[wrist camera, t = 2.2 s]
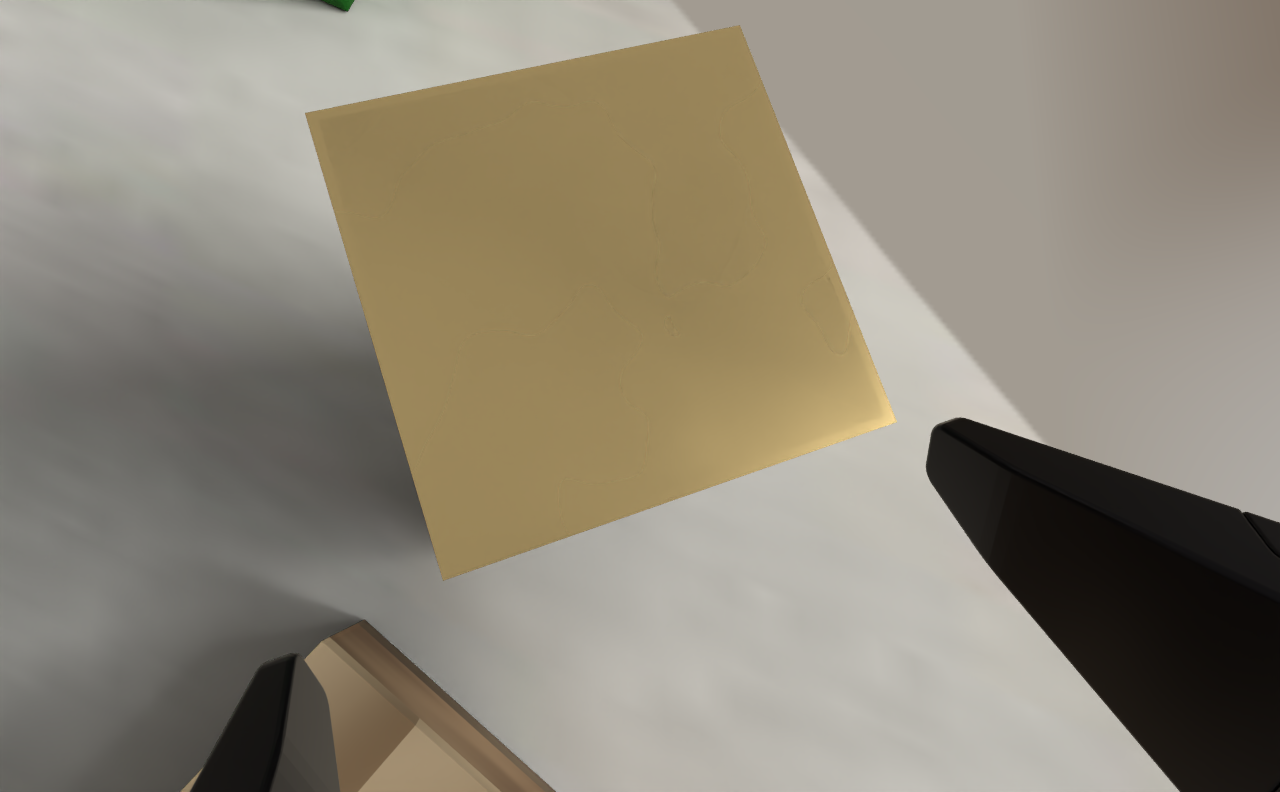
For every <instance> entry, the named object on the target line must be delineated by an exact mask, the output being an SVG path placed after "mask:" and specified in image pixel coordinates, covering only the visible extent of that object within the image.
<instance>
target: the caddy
mask: <svg viewBox="0 0 1280 792" xmlns="http://www.w3.org/2000/svg"><path fill="white" fill-rule="evenodd" d="M304 660H305V662H306V663H307V665H308V666H309V668H310V669H311V671H312V672H313V674H314V675H315V676H316V678H317V679H318V681H319V682H320V684H321V685H322V687H323V689H324V691H325V693H326V696H327V699H328V703H329V708H330V716H331V724H332V731H333V739H334V747H335V754H336V762H337V770H338V777H339V785H340V792H556V791H555V790H553V789H552V788H551V787H550V786H549V785H548V784H547V783H546V782H545V781H543V780H542V779H541V778H540V777H539V776H538V775H537V774H536V773H535V772H533V771H532V770H531V769H530V768H529V767H528V766H527V765H526V764H525V763H523V762H522V761H521V760H520V759H519V758H518V757H517V756H516V755H515V754H513V753H512V752H511V751H510V750H509V749H508V748H507V747H506V746H505V745H503V744H502V743H501V742H500V741H499V740H498V739H497V738H496V737H495V736H493V735H492V734H491V733H490V732H489V731H488V730H487V729H486V728H485V727H483V726H482V725H481V724H480V723H479V722H478V721H477V720H476V719H475V718H473V717H472V716H471V715H470V714H469V713H468V712H467V711H466V710H465V709H463V708H462V707H461V706H460V705H459V704H458V703H457V702H456V701H455V700H453V699H452V698H451V697H450V696H449V695H448V694H447V693H446V692H445V691H443V690H442V689H441V688H440V687H439V686H438V685H437V684H436V683H435V682H433V681H432V680H431V679H430V678H429V677H428V676H427V675H426V674H425V673H424V672H422V671H421V670H420V669H419V668H418V667H417V666H416V665H415V664H414V663H412V662H411V661H410V660H409V659H408V658H407V657H406V656H405V655H404V654H402V653H401V652H400V651H399V650H398V649H397V648H396V647H395V646H394V645H392V644H391V643H390V642H389V641H388V640H387V639H386V638H385V637H384V636H382V635H381V634H380V633H379V632H378V631H377V630H376V629H375V628H374V627H372V626H371V625H370V624H369V623H368V622H367V621H366V620H363V621H361V622H359V623H357V624H355V625H353V626H351V627H349V628H347V629H345V630H343V631H341V632H339V633H337V634H335V635H333V636H331V637H329V638H327V639H325V640H323V641H321V642H320V643H319V644H318V646H317V647H316V648H315V649H314V650H313V651H312V652H311V653H310V654H309V655H308V656H307V657H306V658H305V659H304ZM201 770H202V769H201ZM201 770H200V771H199V772H198V773H197V774H196V776H195V777H194V778H193V779H192V780H191V781H190V782H189V783H188V784H187V785H186V786H185V787H184V788H183V789H182V790H181V792H190V790H191V788H192V786H193V784H194V783H195V781H196V779H197V777H198V775H199V774H200V772H201Z"/></svg>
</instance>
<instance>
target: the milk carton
mask: <svg viewBox="0 0 1280 792" xmlns="http://www.w3.org/2000/svg"><path fill="white" fill-rule="evenodd" d="M322 1H324V2H327V3H329V4H331V5H333V6H336V7H338V8H340V9H342V10H345V11H347V12H348V11H349V9H350V7H351V5H352V4H353V2H354V0H322Z"/></svg>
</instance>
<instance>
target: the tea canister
mask: <svg viewBox="0 0 1280 792" xmlns="http://www.w3.org/2000/svg"><path fill="white" fill-rule="evenodd" d="M305 115H306V118H307V122H308V125H309V128H310V132H311V135H312V138H313V142H314V145H315V149H316V152H317V155H318V159H319V162H320V166H321V169H322V172H323V176H324V179H325V182H326V186H327V189H328V193H329V196H330V199H331V203H332V206H333V210H334V213H335V216H336V220H337V223H338V227H339V230H340V233H341V237H342V240H343V243H344V247H345V250H346V254H347V257H348V260H349V264H350V267H351V271H352V274H353V277H354V281H355V284H356V287H357V291H358V294H359V298H360V301H361V304H362V308H363V311H364V315H365V318H366V321H367V325H368V328H369V332H370V335H371V338H372V342H373V345H374V348H375V352H376V355H377V359H378V362H379V365H380V369H381V372H382V376H383V379H384V382H385V386H386V389H387V392H388V396H389V399H390V403H391V406H392V409H393V413H394V416H395V420H396V423H397V426H398V430H399V433H400V437H401V440H402V443H403V447H404V450H405V453H406V457H407V460H408V464H409V467H410V470H411V474H412V477H413V481H414V484H415V487H416V491H417V494H418V497H419V501H420V504H421V508H422V511H423V514H424V518H425V521H426V525H427V528H428V531H429V535H430V538H431V542H432V545H433V548H434V552H435V555H436V558H437V562H438V565H439V569H440V572H441V575H442V579H443V581H444V580H446V579H449V578H452V577H455V576H458V575H461V574H464V573H467V572H469V571H472V570H475V569H478V568H481V567H484V566H487V565H489V564H492V563H495V562H498V561H501V560H504V559H507V558H509V557H512V556H515V555H518V554H521V553H524V552H527V551H529V550H532V549H535V548H538V547H541V546H544V545H547V544H549V543H552V542H555V541H558V540H561V539H564V538H567V537H569V536H572V535H575V534H578V533H581V532H584V531H587V530H589V529H592V528H595V527H598V526H601V525H604V524H607V523H609V522H612V521H615V520H618V519H621V518H624V517H627V516H629V515H632V514H635V513H638V512H641V511H644V510H647V509H650V508H652V507H655V506H658V505H661V504H664V503H667V502H670V501H672V500H675V499H678V498H681V497H684V496H687V495H690V494H692V493H695V492H698V491H701V490H704V489H707V488H710V487H712V486H715V485H718V484H721V483H724V482H727V481H730V480H732V479H735V478H738V477H741V476H744V475H747V474H750V473H752V472H755V471H758V470H761V469H764V468H767V467H770V466H772V465H775V464H778V463H781V462H784V461H787V460H790V459H792V458H795V457H798V456H801V455H804V454H807V453H810V452H812V451H815V450H818V449H821V448H824V447H827V446H830V445H833V444H835V443H838V442H841V441H844V440H847V439H850V438H853V437H855V436H858V435H861V434H864V433H867V432H870V431H873V430H875V429H878V428H881V427H884V426H887V425H890V424H893V423H895V422H897V421H896V419H895V416H894V414H893V411H892V409H891V406H890V403H889V401H888V398H887V396H886V393H885V391H884V388H883V386H882V383H881V381H880V378H879V376H878V373H877V371H876V368H875V366H874V363H873V361H872V358H871V355H870V353H869V350H868V348H867V345H866V343H865V340H864V338H863V335H862V333H861V330H860V328H859V325H858V323H857V320H856V318H855V315H854V313H853V310H852V307H851V305H850V302H849V300H848V297H847V295H846V292H845V290H844V287H843V285H842V282H841V280H840V277H839V275H838V272H837V270H836V267H835V265H834V262H833V259H832V257H831V254H830V252H829V249H828V247H827V244H826V242H825V239H824V237H823V234H822V232H821V229H820V227H819V224H818V222H817V219H816V217H815V214H814V211H813V209H812V206H811V204H810V201H809V199H808V196H807V194H806V191H805V189H804V186H803V184H802V181H801V179H800V176H799V174H798V171H797V169H796V166H795V163H794V161H793V158H792V156H791V153H790V151H789V148H788V146H787V143H786V141H785V138H784V136H783V133H782V131H781V128H780V126H779V123H778V121H777V118H776V115H775V113H774V110H773V108H772V105H771V103H770V100H769V98H768V95H767V93H766V90H765V88H764V85H763V83H762V80H761V78H760V75H759V72H758V70H757V67H756V65H755V62H754V60H753V57H752V55H751V53H750V50H749V47H748V45H747V42H746V40H745V37H744V35H743V32H742V30H741V27H740V26H734V27H729V28H724V29H719V30H714V31H709V32H704V33H699V34H694V35H689V36H684V37H679V38H674V39H669V40H665V41H660V42H655V43H650V44H645V45H640V46H635V47H630V48H625V49H620V50H615V51H610V52H605V53H600V54H595V55H590V56H585V57H580V58H575V59H571V60H566V61H561V62H556V63H551V64H546V65H541V66H536V67H531V68H526V69H521V70H516V71H511V72H506V73H501V74H496V75H491V76H486V77H481V78H477V79H472V80H467V81H462V82H457V83H452V84H447V85H442V86H437V87H432V88H427V89H422V90H417V91H412V92H407V93H402V94H397V95H392V96H387V97H383V98H378V99H373V100H368V101H363V102H358V103H353V104H348V105H343V106H338V107H333V108H328V109H323V110H318V111H313V112H308V113H305Z"/></svg>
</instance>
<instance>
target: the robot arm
mask: <svg viewBox="0 0 1280 792" xmlns="http://www.w3.org/2000/svg"><path fill="white" fill-rule="evenodd" d="M926 472H927V475H928V478H929V480H930V482H931V483H932V485H933V486H934V488H935V489H936V491H937V492H938V494H939V495H940V497H941V498H942V499H943V501H944V502H945V504H946V505H947V507H948V508H949V510H950V511H951V513H952V514H953V515H954V517H955V518H956V520H957V521H958V523H959V524H960V526H961V527H962V529H963V530H964V532H965V533H966V534H967V536H968V537H969V539H970V540H971V542H972V543H973V545H974V546H975V548H976V549H977V550H978V552H979V553H980V555H981V556H982V557H983V559H984V560H985V561H986V563H987V564H988V565H989V567H990V568H991V569H992V570H993V572H994V573H995V574H996V575H997V576H998V578H999V579H1000V580H1001V581H1002V582H1003V584H1004V585H1005V586H1006V587H1007V588H1008V590H1009V591H1010V592H1011V593H1012V594H1013V595H1014V597H1015V598H1016V599H1017V600H1018V601H1019V602H1020V604H1021V605H1022V606H1023V607H1024V608H1025V610H1026V611H1027V612H1028V613H1029V614H1030V615H1031V617H1032V618H1033V619H1034V620H1035V621H1036V623H1037V624H1038V625H1039V626H1040V627H1041V628H1042V630H1043V631H1044V632H1045V633H1046V634H1047V636H1048V637H1049V638H1050V639H1051V640H1052V641H1053V643H1054V644H1055V645H1056V646H1057V647H1058V649H1059V650H1060V651H1061V652H1062V653H1063V654H1064V656H1065V657H1066V658H1067V659H1068V660H1069V661H1070V663H1071V664H1072V665H1073V666H1074V667H1075V669H1076V670H1077V671H1078V672H1079V673H1080V674H1081V676H1082V677H1083V678H1084V679H1085V680H1086V682H1087V683H1088V684H1089V685H1090V686H1091V687H1092V689H1093V690H1094V691H1095V692H1096V693H1097V695H1098V696H1099V697H1100V698H1101V699H1102V700H1103V702H1104V703H1105V704H1106V705H1107V706H1108V708H1109V709H1110V710H1111V711H1112V712H1113V713H1114V715H1115V716H1116V717H1117V718H1118V719H1119V721H1120V722H1121V723H1122V724H1123V725H1124V726H1125V728H1126V729H1127V730H1128V731H1129V732H1130V733H1131V735H1132V736H1133V737H1134V738H1135V739H1136V741H1137V742H1138V743H1139V744H1140V745H1141V746H1142V748H1143V749H1144V750H1145V751H1146V752H1147V754H1148V755H1149V756H1150V757H1151V758H1152V759H1153V761H1154V762H1155V763H1156V764H1157V765H1158V767H1159V768H1160V769H1161V770H1162V771H1163V772H1164V774H1165V775H1166V776H1167V777H1168V778H1169V780H1170V781H1171V782H1172V783H1173V784H1174V785H1175V787H1176V788H1177V789H1178V790H1179V791H1180V792H1280V523H1279V522H1276V521H1273V520H1270V519H1267V518H1264V517H1261V516H1258V515H1255V514H1252V513H1249V512H1243V513H1242V512H1241V511H1240V510H1239V509H1236V508H1234V507H1231V506H1227V505H1224V504H1221V503H1218V502H1215V501H1212V500H1210V499H1206V498H1203V497H1200V496H1197V495H1194V494H1191V493H1188V492H1185V491H1182V490H1179V489H1176V488H1173V487H1170V486H1167V485H1164V484H1161V483H1158V482H1155V481H1152V480H1149V479H1146V478H1143V477H1140V476H1137V475H1134V474H1131V473H1128V472H1125V471H1122V470H1119V469H1116V468H1113V467H1110V466H1107V465H1104V464H1101V463H1098V462H1095V461H1092V460H1089V459H1086V458H1083V457H1080V456H1077V455H1074V454H1071V453H1068V452H1065V451H1062V450H1059V449H1056V448H1053V447H1050V446H1047V445H1044V444H1041V443H1038V442H1035V441H1032V440H1029V439H1026V438H1023V437H1020V436H1017V435H1014V434H1011V433H1008V432H1005V431H1002V430H999V429H996V428H993V427H990V426H987V425H984V424H981V423H978V422H975V421H972V420H969V419H966V418H954V419H951V420H948V421H945V422H943V423H940V424H937V425H936V426H935V427H934V428H933V430H932V432H931V437H930V443H929V449H928V455H927V461H926ZM190 792H340V785H339V777H338V770H337V762H336V754H335V747H334V739H333V731H332V724H331V716H330V708H329V703H328V699H327V696H326V693H325V691H324V689H323V687H322V685H321V684H320V682H319V681H318V679H317V678H316V676H315V675H314V674H313V672H312V671H311V669H310V668H309V666H308V665H307V663H306V662H305V660H304V659H303V658H302V656H301V655H299V654H297V653H290V654H287V655H284V656H282V657H279V658H276V659H273V660H270V661H268V662H265V663H264V664H262V665H261V666H260V667H259V668H258V670H257V671H256V673H255V675H254V676H253V678H252V680H251V682H250V684H249V685H248V687H247V689H246V691H245V693H244V694H243V696H242V698H241V700H240V702H239V703H238V705H237V707H236V709H235V711H234V712H233V714H232V716H231V718H230V720H229V721H228V723H227V725H226V727H225V729H224V730H223V732H222V734H221V736H220V738H219V739H218V741H217V743H216V745H215V747H214V748H213V750H212V752H211V754H210V756H209V757H208V759H207V761H206V763H205V765H204V766H203V768H202V770H201V772H200V774H199V775H198V777H197V779H196V781H195V783H194V784H193V786H192V788H191V790H190Z"/></svg>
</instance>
